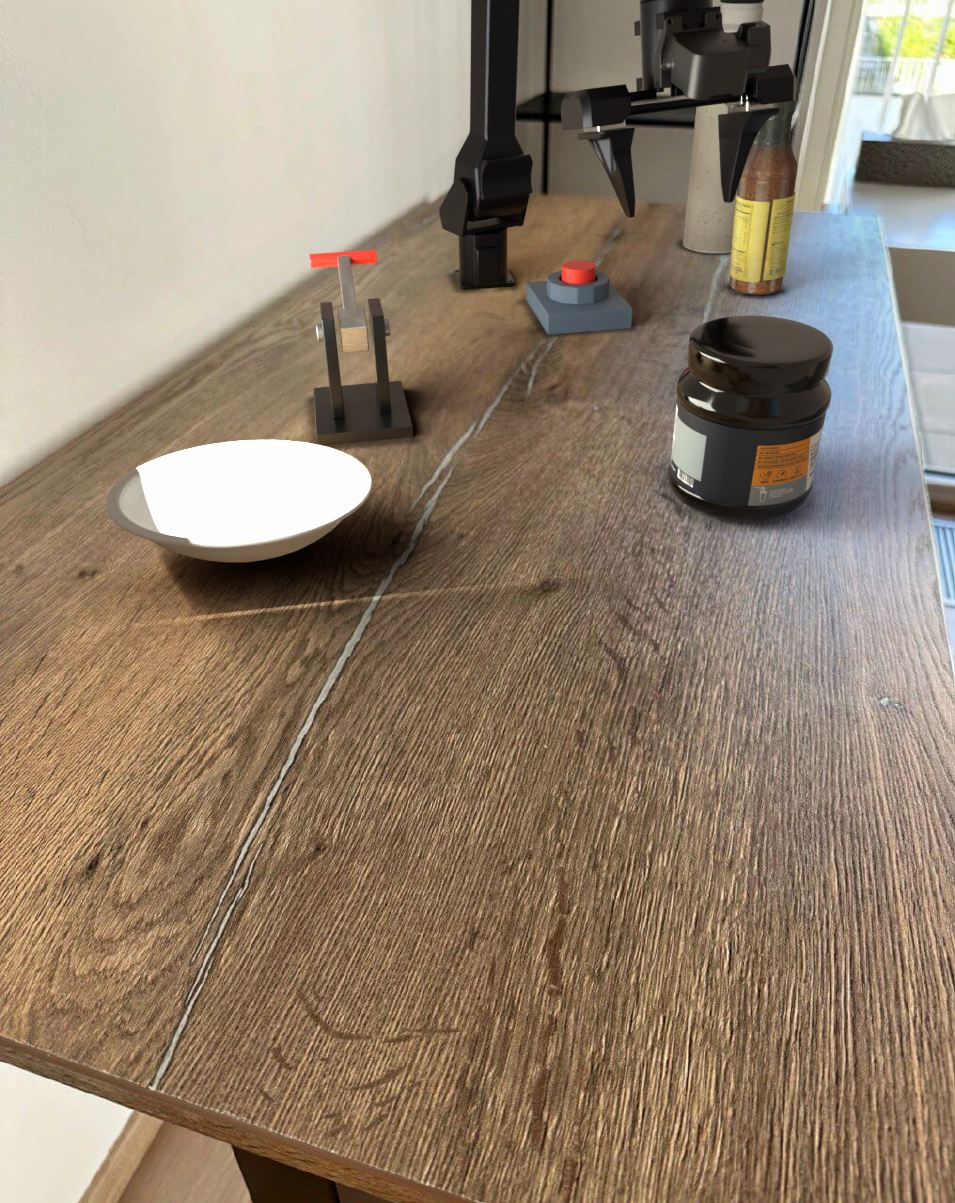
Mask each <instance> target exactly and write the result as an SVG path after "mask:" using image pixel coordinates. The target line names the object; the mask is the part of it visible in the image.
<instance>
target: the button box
mask: <svg viewBox="0 0 955 1203" xmlns="http://www.w3.org/2000/svg"><path fill="white" fill-rule="evenodd" d="M610 280H611V278H610V277H609V276H608V275H607V273H605V272H603V271H598V270H596V275H595V282H592V283H589V284H569V283H565V282H562V269H561V270H558V271H554V272H551V273H550V274H549V275H548V276H547V278H546V280H541V281H540V280H539V281H527V282H526V303H527V304H528V306H529V308H530V309H531V311H532V312H533V314H534V315H535V317H536V318H537V321H538V322H539V323H540V325H541V326H542V328H543V329H544V331H545V332H546V334H547V335H548V336H549V335H550V336H551V335H562V334H574V333H575V334H577V333H585V332H586V333H587V332H597V331H598V332H601V331H610V330H624V329H625V330H626V329H632V322H633V311H634V310H633V307H632V306H631V304H629V303H628V301H627V300H626V299H625V298H624V297H623V296H622V295H621V293H619V291H618V290H617V289H616V288H615V287H614V286H613V285H612V284H611V282H610Z"/></svg>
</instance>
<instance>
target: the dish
mask: <svg viewBox="0 0 955 1203" xmlns="http://www.w3.org/2000/svg"><path fill="white" fill-rule="evenodd" d="M372 490H373V478H372V475H371V473H370V471H369V469H368V468H367V467H366V465H365V464H363V462H361V461H360V460H359V459H357V458H356V457H354V456H352V455H350V454H349V453H346V452H344V451H341V450H339V449H336V448H332V447H329V446H327V445H322V446H321V445H318V444H317V443H312V442H311V443H310V442H305V441H296V440H286V439H285V440H284V439H245V440H234V441H224V442H217V443H211V444H205V445H199V446H194V447H191V448H186V449H182V450H179V451H175V452H172V453H168V454H165V455H163V456H160V457H157V458H155V459H152V460H150V461H148V462H145V463H143V464H141V465H139V466H137V467H135V468H134V469H132V470H130V471H129V472H127V473H126V474H124V475H123V476H122V477H121V478H120V479H119V480H117V481H116V482H115V483H114V484H113V486H112V487H111V488H110V490H109V492H108V494H107V497H106V504H105V505H106V510H107V513H108V515H109V517H110V518H111V519H112V521H113V522H114V523H115V524H116V525H117V526H118V527H120V528H121V529H123V530H124V531H126V532H128V533H129V534H131V535H134V536H136V537H138V538H141V539H144V540H148V541H150V542H152V543H154V544H156V545H158V546H160V547H162V548H164V549H166V550H168V551H171V552H174V553H176V554H179V555H181V556H185V557H189V558H193V559H198V560H203V561H208V562H215V563H216V562H217V563H252V562H258V561H259V562H260V561H265V560H271V559H274V558H275V559H276V558H279V557H282V556H285V555H289V554H291V553H295V552H297V551H300V550H302V549H304V548H306V547H308V546H309V545H311V544H314V543H315V542H317V541H318V540H320V539H322V538H323V537H324V536H326V535H327V534H329V533H330V532H331V531H333V529H335V528H336V527H337V526H339V524H341V523H342V521H343V520H345V519H346V518H348V517H350V516H351V515H352V514H354V513H355V512H356V511H357V510H359V509H360V508H361V507H362V506H363V505H364V504H365V502H366V501H367V500H368V499H369V497H370V495H371V492H372Z"/></svg>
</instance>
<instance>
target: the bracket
mask: <svg viewBox="0 0 955 1203" xmlns="http://www.w3.org/2000/svg"><path fill="white" fill-rule="evenodd" d="M381 302H382V301H381V299H380V297H379V298H368V299H367V307H368V319H369V329H370V330H369V331H370V340H371V353H372V364H373V375H374V382H369V383H367V382H366V383H358V384H357V383H356V384H355V383H354V384H345V385H342V378H341V369H340V360H339V351H338V342H337V332H336V324H335V316H334V307H333V302H332V301H324V302H320V303H319V306H320V307H319V309H320V319H321V323H316V324H315V327H316V328H315V329H316V336H317V337H316V338H317V342H319V343H320V342H323V345H324V352H325V361H326V371H327V380H328V386H320V387H313V404H314V418H315V435H316V444H317V445H321V446H333V445H342V444H344V445H345V444H354V443H364V442H377V441H387V440H398V439H399V440H400V439H409V438H414V428H413V423H412V419H411V415H410V411H409V407H408V403H407V398H406V396H405V392H404V387H403V384H402V380H393V381H392V380H391V381H390V376H389V362H388V349H387V337H391V327H390V320H389V318H385V314H384V311H383V306H382V303H381Z"/></svg>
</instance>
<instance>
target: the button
mask: <svg viewBox="0 0 955 1203" xmlns="http://www.w3.org/2000/svg"><path fill="white" fill-rule="evenodd" d="M561 264H562V265H561V270H562V282H565V283H569V284H589V283H592V282H595V275H596V271H597V264H596V263H595V262H593V261H590V260H583V259H573V260H568V261H565V262H563V263H561Z"/></svg>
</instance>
